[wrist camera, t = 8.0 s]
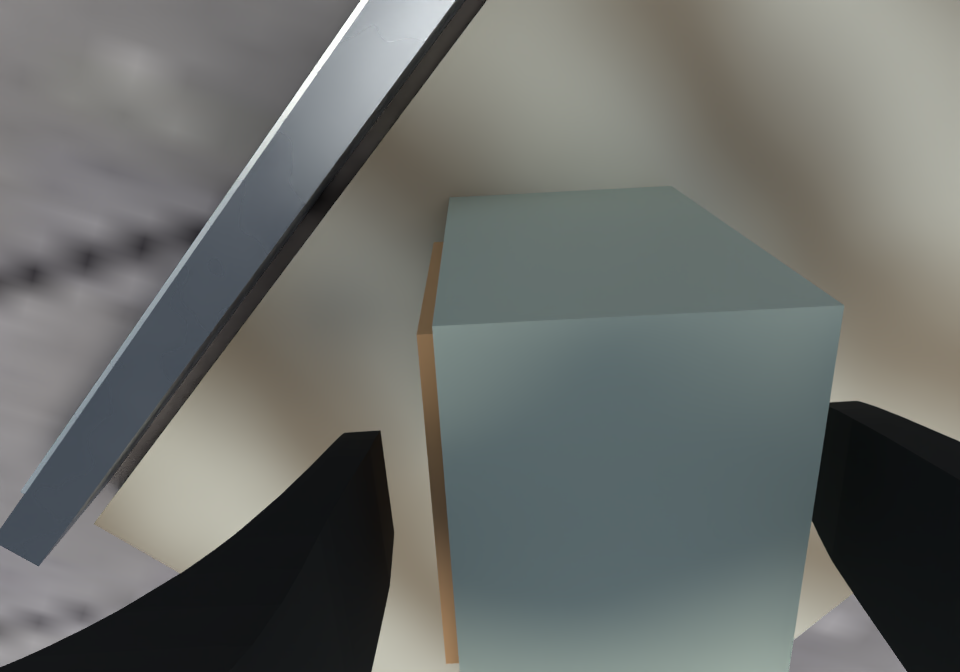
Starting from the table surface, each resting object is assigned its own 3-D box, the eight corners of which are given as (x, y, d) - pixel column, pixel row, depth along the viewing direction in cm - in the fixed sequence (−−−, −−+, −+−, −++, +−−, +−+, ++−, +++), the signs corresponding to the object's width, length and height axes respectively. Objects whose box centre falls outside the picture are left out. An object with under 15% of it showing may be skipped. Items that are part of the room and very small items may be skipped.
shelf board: (727, -318, 14) (755, -358, 12) (1206, 251, 18) (1266, 268, 17) (119, 491, 21) (93, 523, 19) (577, 763, 25) (583, 805, 24)
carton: (671, 185, 16) (843, 305, 9) (657, 453, 19) (780, 722, 11) (436, 198, 16) (407, 327, 9) (455, 464, 19) (446, 737, 11)
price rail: (661, -395, 13) (722, -536, 10) (713, -335, 14) (787, -452, 11) (62, 458, 20) (-16, 536, 17) (106, 484, 21) (38, 566, 17)
